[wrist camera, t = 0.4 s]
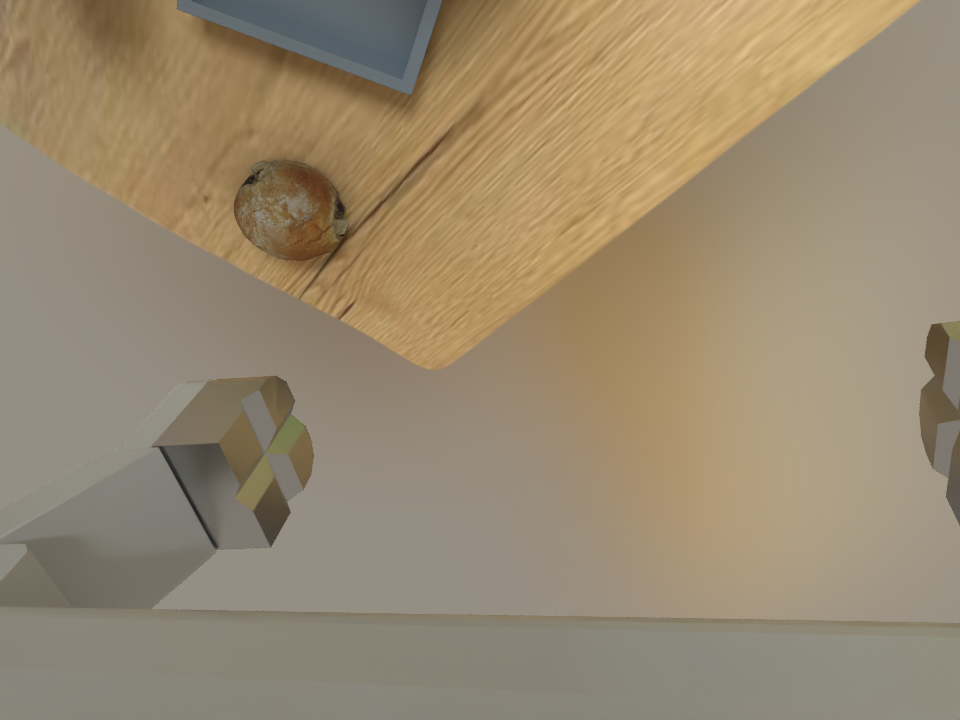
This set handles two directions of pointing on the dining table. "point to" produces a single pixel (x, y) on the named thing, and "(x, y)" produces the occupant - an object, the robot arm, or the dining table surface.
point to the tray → (336, 32)
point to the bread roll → (290, 211)
